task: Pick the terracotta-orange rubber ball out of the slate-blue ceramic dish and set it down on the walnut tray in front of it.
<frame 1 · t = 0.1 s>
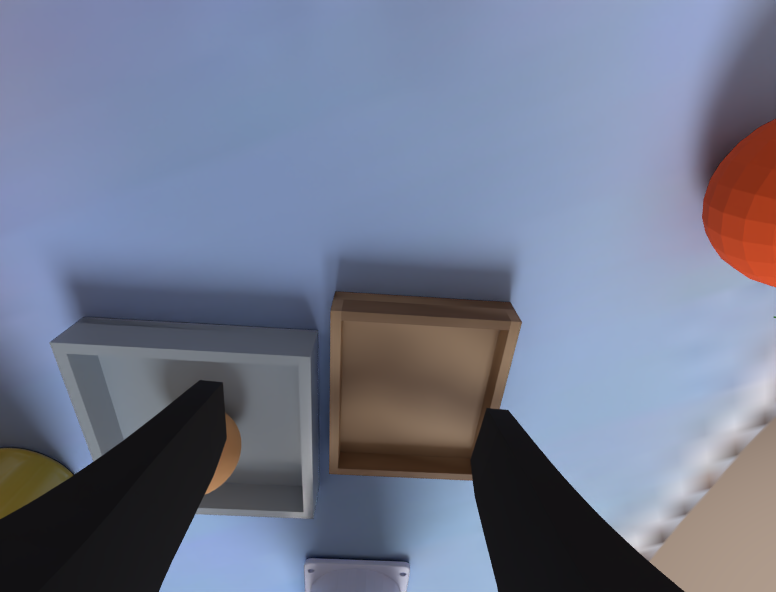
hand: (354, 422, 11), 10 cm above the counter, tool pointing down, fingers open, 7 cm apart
tray: (412, 381, 23), on the counter
ball: (195, 450, 21), point 3 cm above the counter, touching dish
plant pot: (33, 478, 27), on the counter
clementine: (736, 192, 18), on the counter
dish: (216, 411, 24), on the counter
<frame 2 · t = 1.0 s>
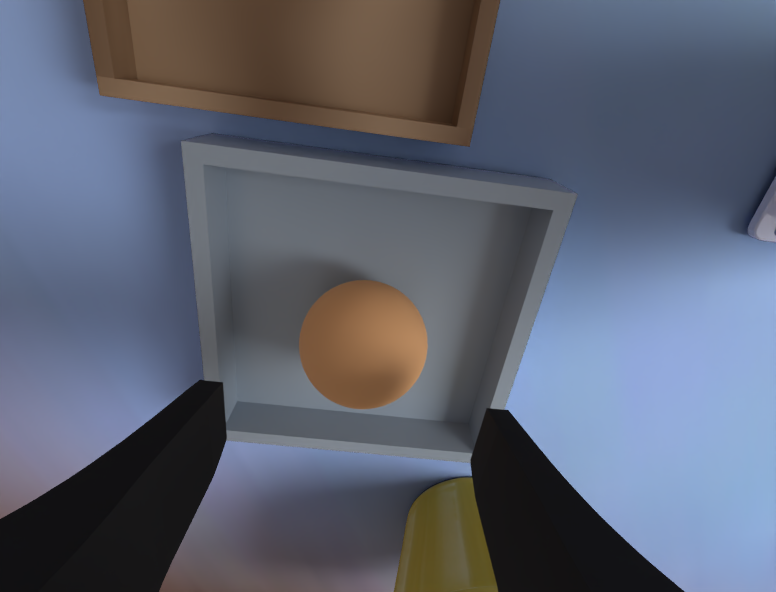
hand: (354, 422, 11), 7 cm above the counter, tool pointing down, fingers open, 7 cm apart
ball: (363, 343, 15), point 3 cm above the counter, touching dish
plant pot: (462, 510, 24), on the counter
dish: (367, 305, 17), on the counter
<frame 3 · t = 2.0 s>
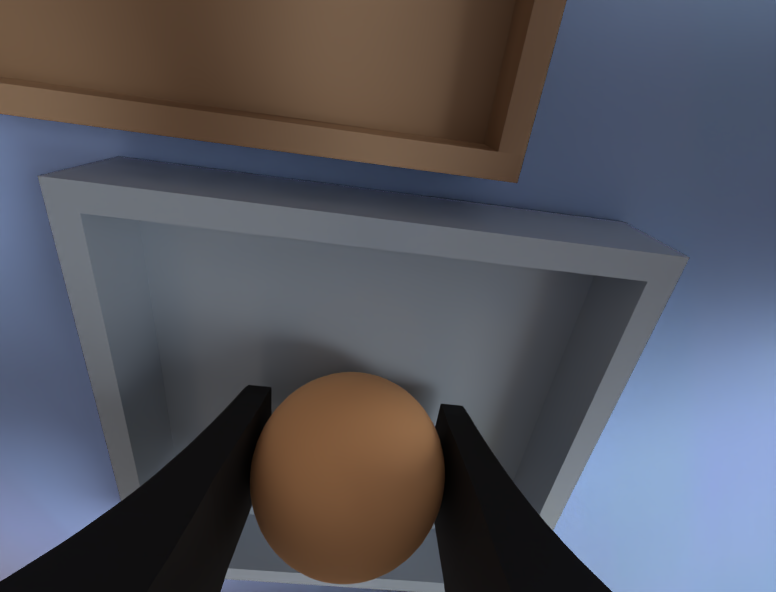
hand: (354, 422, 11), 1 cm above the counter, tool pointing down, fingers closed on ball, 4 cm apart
ball: (349, 468, 10), point 3 cm above the counter, touching dish, gripper
dish: (357, 389, 12), on the counter
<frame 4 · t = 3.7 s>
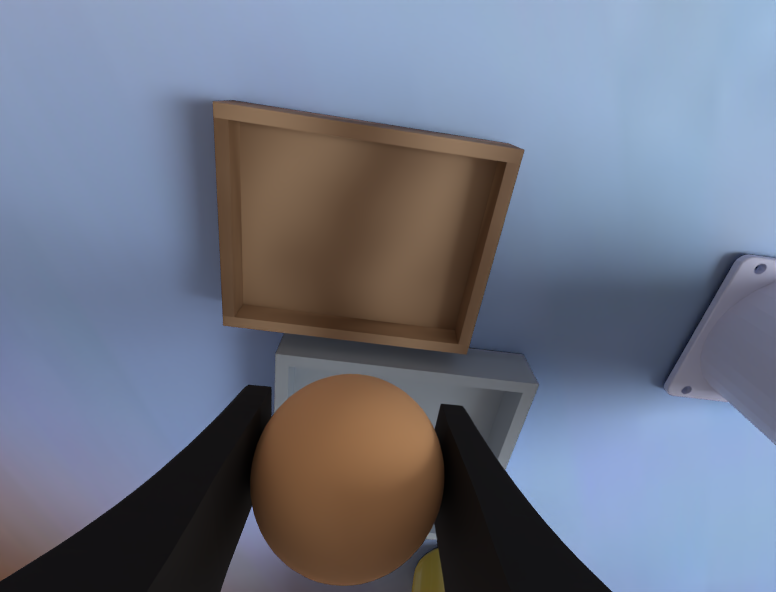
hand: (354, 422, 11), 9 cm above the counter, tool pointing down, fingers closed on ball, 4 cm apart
tray: (361, 231, 18), on the counter
ball: (349, 469, 10), point 10 cm above the counter, touching gripper
plant pot: (458, 565, 30), on the counter
dish: (390, 428, 23), on the counter
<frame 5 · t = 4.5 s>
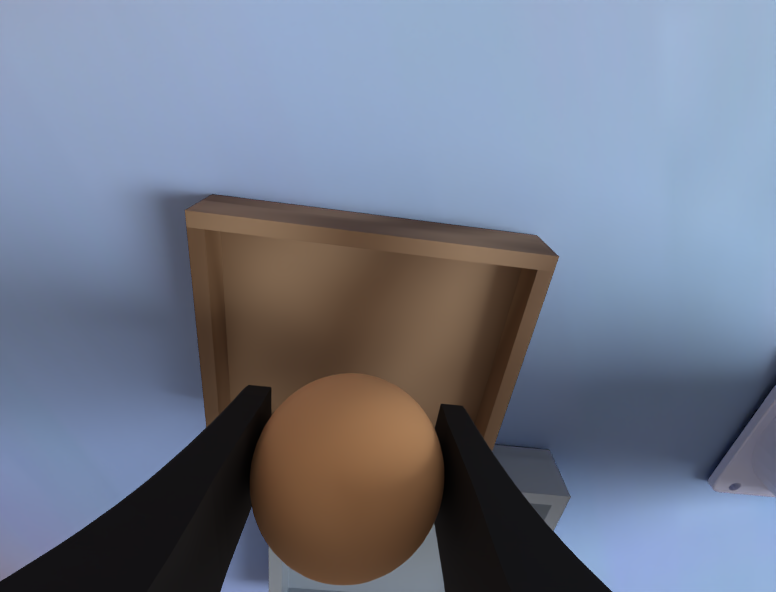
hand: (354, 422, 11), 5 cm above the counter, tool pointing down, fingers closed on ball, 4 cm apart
tray: (364, 328, 16), on the counter
ball: (349, 469, 10), point 6 cm above the counter, touching gripper
dish: (399, 523, 21), on the counter
when the fingers open (3 cm above the counter, at t = 5.3 s): ball drops 1 cm, resting on tray.
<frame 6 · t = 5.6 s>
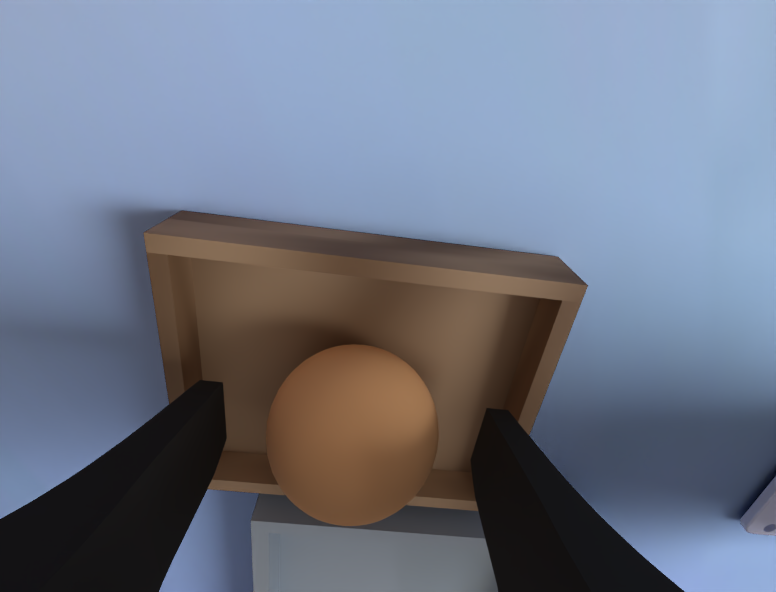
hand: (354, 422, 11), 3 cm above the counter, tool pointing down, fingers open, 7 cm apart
tray: (360, 360, 14), on the counter
ball: (353, 429, 11), point 3 cm above the counter, touching tray
dish: (399, 564, 19), on the counter
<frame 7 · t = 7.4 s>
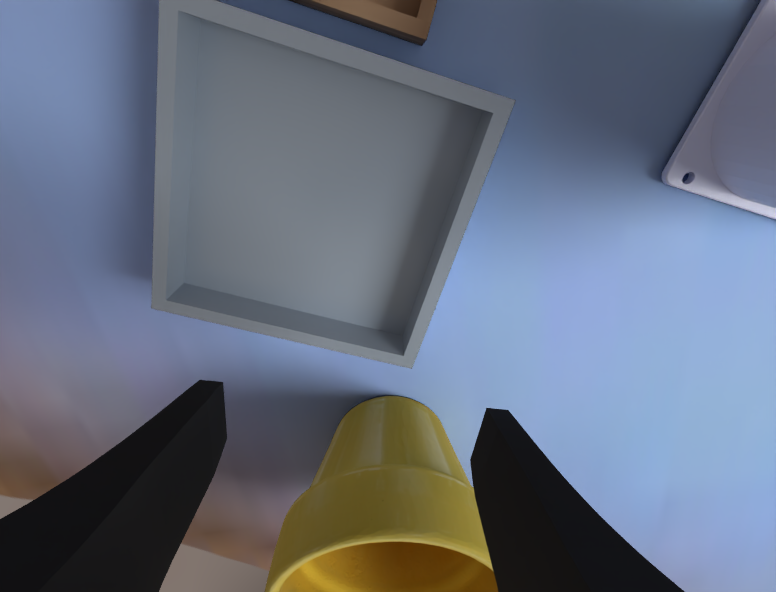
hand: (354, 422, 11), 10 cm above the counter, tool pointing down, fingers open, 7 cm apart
plant pot: (389, 432, 25), on the counter
dish: (321, 201, 18), on the counter
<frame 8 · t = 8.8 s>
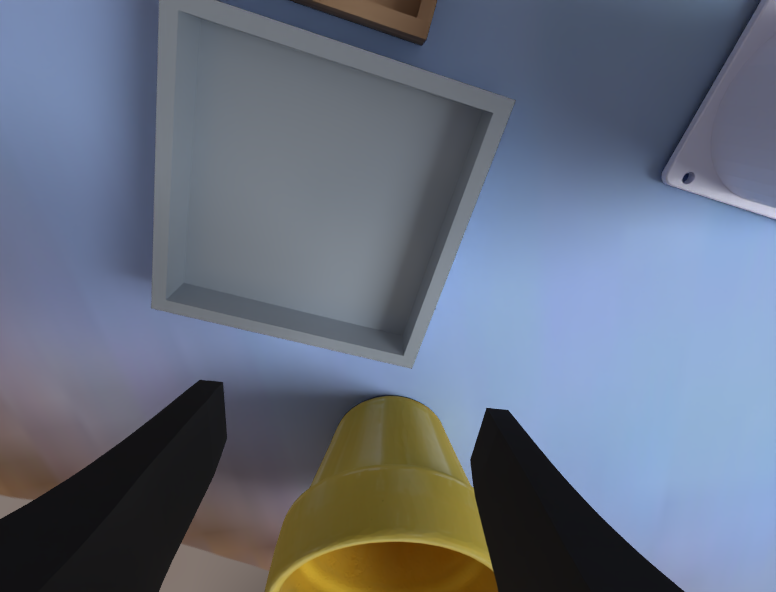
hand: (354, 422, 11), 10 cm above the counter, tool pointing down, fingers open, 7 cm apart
plant pot: (389, 432, 25), on the counter
dish: (321, 201, 18), on the counter
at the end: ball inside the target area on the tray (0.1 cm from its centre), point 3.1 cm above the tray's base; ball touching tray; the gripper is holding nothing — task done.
